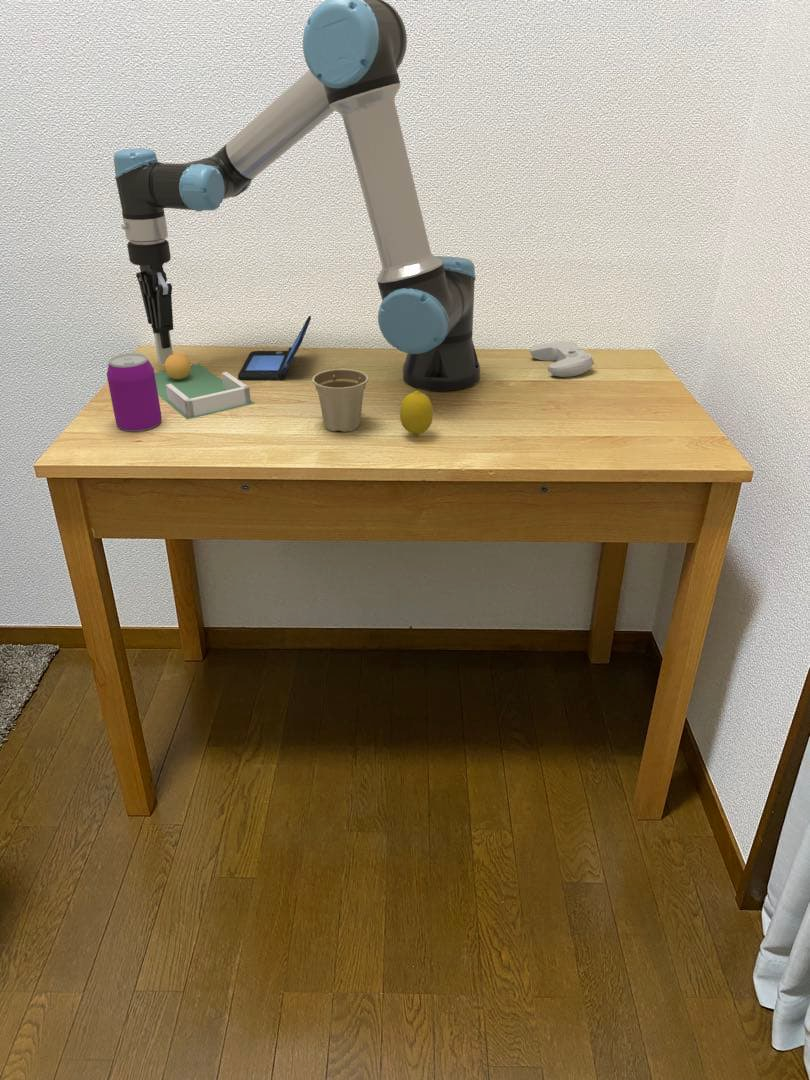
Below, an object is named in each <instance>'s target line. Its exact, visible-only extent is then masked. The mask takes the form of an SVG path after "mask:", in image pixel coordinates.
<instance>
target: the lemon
mask: <svg viewBox="0 0 810 1080" xmlns="http://www.w3.org/2000/svg"><path fill="white" fill-rule="evenodd" d="M399 417H400V418H399V419H400V423H401V426H402V427H403V428H404V429H405V431H406V432H408V433H409V434H412V435H414V437H418V436H419V435H420V434H423V433H425V432H426V431H428V429H429V428H430V427H431V425H432V423H433V420H434V407H433V404H432V402H431V399H430V398H429V397H428V396H427V395H426V394H425V393H422V392H420V391H419V390H414V391H413V392H411V393H409V394H408V395H406V396H405V397H404V398H403V399H402V401H401V404H400V409H399Z"/></svg>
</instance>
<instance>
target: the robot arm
mask: <svg viewBox="0 0 810 1080" xmlns="http://www.w3.org/2000/svg"><path fill="white" fill-rule="evenodd" d="M407 43H408V35H407V31H406V26H405V24H404V21H403V18H402V17H401V16H400V14H399V12H398V11H397V10H396V9H395V8H394V7H393V6H392V5H391V4H390V3H388V2H386V1H385V0H324V1H323V2H321V3H320V4H319V5H317V6H316V7H315V8H314V10H313V11H311V13H310V15H309V17H308V19H307V21H306V24H305V26H304V31H303V35H302V52H303V56H304V61H305V63H306V65H307V68H308V69H309V70H307V71H306V72H305V73H304V74H303V75H302V76H301V77H300V78H298V79H297V80H296V81H295V82H294V83H293V84H291V85H290V86H289V87H288V88H287V89H286V90H284V92H283V93H282V94H281V95H279V96H278V97H277V98H275V100H274V101H273V102H271V103H270V104H269V105H268V106H267V107H265V109H264V110H263V111H261V112H260V113H259V114H258V115H257V116H255V117H254V118H253V119H252V120H251V121H250V122H249V123H248V124H247V125H245V126H244V127H243V128H242V129H241V130H240V131H239V132H237V134H236V135H234V136H233V137H232V138H231V139H230V140H229V141H227V142H226V144H225V145H223V146H222V147H221V148H220V149H218V151H217V152H215V153H214V154H213V155H212V156H209V157H206V158H201V159H197V160H194V161H189V162H185V163H166V162H160V161H158V160H159V159H158V158H157V154H156V152H155V150H154V149H149V148H138V147H137V148H125V149H120V150H117V151H116V152H115V153H114V155H113V164H114V166H113V167H114V174H115V175H114V179H115V181H116V182H115V183H116V187H117V191H118V197H119V201H120V206H121V207H120V208H121V215H122V220H123V224H121V229H122V230H124V231H125V239H126V240H127V241H128V243H127V244H126V246H127V252H128V257H129V261H130V263H131V264H133V265H135V266H139V272H136V274H135V276H136V279H137V281H138V285H139V289H140V293H141V298H142V301H143V305H144V310H145V314H146V319H147V323H148V324H149V325H151V328H152V332H153V336H154V337H153V338H154V342H155V349H156V355H157V361H158V364H160V365H165V361H166V359H167V358H168V357H169V356H170V355H172V354H174V351H173V345H172V338H171V334H170V333H171V332H170V331H173V330H174V320H173V319H174V318H173V314H174V313H173V302H172V301H173V300H172V298H173V297H172V294H173V285H172V284H171V283H170V282H169V283H167V281H168V279H167V273H166V271H165V270H164V267H163V265H164V264H166V263H168V262H170V261H171V259H172V257H171V251H170V250H171V249H170V245H169V240H167V238H168V235H169V234H168V227H167V219H166V214H165V209H173V210H187V211H195V212H203V211H215V210H217V209H219V207H220V206H221V203H223V201H224V200H227V199H229V198H235V197H237V196H239V195H240V194H242V193H244V192H246V191H247V190H248V189H249V187H250V186H251V183H252V181H253V180H254V179H255V178H257V176H258V175H259V174H260V173H262V172H264V170H265V169H267V168H268V167H269V166H270V165H272V164H273V163H274V162H275V161H277V159H278V158H281V156H282V155H284V154H285V153H286V152H287V151H288V150H290V149H291V148H292V147H294V145H296V144H297V143H298V142H299V141H300V140H302V139H303V138H305V136H306V135H308V134H309V133H310V132H311V131H313V130H314V129H315V128H316V127H317V126H318V125H319V124H321V123H322V122H323V121H324V120H326V119H327V118H328V117H329V116H331V115H332V114H334V112H335V111H336V112H337V113H338V114H340V116H341V118H342V121H343V124H344V128H345V131H346V135H347V140H348V143H349V146H350V150H351V153H352V157H353V162H354V164H355V169H356V172H357V173H356V174H357V177H358V181H359V184H360V188H361V191H362V195H363V199H364V203H365V206H366V207H365V208H366V211H367V213H368V218H369V221H370V225H371V229H372V232H373V236H374V237H373V238H374V240H375V244H376V248H377V252H378V255H379V258H380V263H381V271H380V272H379V274H378V276H377V279H376V282H377V286H378V289H379V293H380V296H381V300H382V301H381V304H380V306H379V309H378V314H377V321H378V322H377V323H378V327H379V330H380V333H381V334H382V336H383V338H384V339H385V341H387V343H388V344H390V345H391V346H392V347H394V348H395V349H397V350H399V351H400V352H403V353H406V358H405V361H404V363H403V366H402V379H403V381H404V383H406V384H408V385H410V386H411V387H413V388H417V389H422V390H426V391H434V392H436V391H437V392H438V391H439V392H449V391H450V392H451V391H457V390H458V391H459V390H464V389H467V388H469V387H472V386H474V385H476V384H478V383H479V382H480V379H481V366H480V363H479V359H478V356H477V352H476V347H475V345H474V341H473V331H474V329H473V327H474V305H475V304H474V303H475V281H476V279H477V277H476V272H475V264H474V262H473V261H472V260H470V259H468V258H466V257H465V258H464V257H458V256H444V255H443V256H442V255H434V254H432V251H431V246H430V243H429V239H428V235H427V234H428V233H427V230H426V226H425V222H424V217H423V214H422V211H421V210H422V209H421V206H420V205H421V204H420V201H419V198H418V193H417V189H416V185H415V180H414V177H413V173H412V167H411V164H410V159H409V155H408V152H407V148H406V142H405V140H404V136H403V135H404V134H403V131H402V130H403V129H402V127H401V122H400V119H399V114H398V110H397V106H396V103H395V102H396V101H395V99H396V96H397V94H398V92H399V89H400V88H401V81H400V76H399V73H398V72H399V71H398V70H399V68H400V66H401V64H402V62H403V60H404V58H405V56H406V51H407V47H408V46H407Z"/></svg>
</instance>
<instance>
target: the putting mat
mask: <svg viewBox="0 0 810 1080" xmlns="http://www.w3.org/2000/svg"><path fill="white" fill-rule="evenodd" d="M154 373H155V379H156V385H157V391H158V397H160V398H161V399H163V400H164V402H166V403H167V404H168V405H170V407H172V408H173V409H174V410H175V411H176V412H178V413H179V414H180V415H181V416H183V417H184V418H185V419H186V420H191V419H196V418H200V417H203V416H208V415H209V416H210V415H212V414H216V413H221V412H225V411H230V410H234V409H239V408H241V407H246V406H251V405H255V402H254V401H252V400H251V403H249V404H245V405H241V406H236V407H232V408H228V409H224V410H219V411H215V412H211V413H207V414H203V415H198V416H194V417H190V418H189V417H187V416H186V415H185V414H184V413H183V412H181V411H180V410H179V409H178V408H177V407H175V406H174V405H173V404H172V403H171V402H170V401H168V397H167V390H166V385H167V384H172V385H173V386H174V387H176V388H177V389H178V390H179V391H181V392H182V393H183V394H184V395H186V396H187V397H188V398H189V399H191V398H195V397H200V396H204V395H209V394H213V393H218V392H222V391H226V389H224V388H223V381H222V379H221V378H220V377H218V376H217V375H216V374H214V373H213V372H211V371H210V370H209V369H207V368H205V366H202V364H199V363H197V364H191V371H190V373H189V375H188V376H187V377H186V378H184V379H180V380H177V379H173V378H171V377H170V376H169V375H168V374H167V373H166V371H165V370H163V371H158V372H154Z"/></svg>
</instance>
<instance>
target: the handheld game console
mask: <svg viewBox="0 0 810 1080" xmlns="http://www.w3.org/2000/svg"><path fill="white" fill-rule="evenodd" d="M311 319H312V316H311V315H309V316H308V317H307V319H306V320H305V322H304V324H303V326H302V327H301V329H300V331H299V333H298V336H297V337H296V339H295V341H294V342H293V344H292V346H290V347H288V350H252V351H251V352H249V354H248V356H247V358H246V360H245V361H244V363H243V365H242V367H241V368H240V370H239V372H238V374H237V379H238V380H239V381H246V382H247V381H249V382H250V381H252V382H253V381H254V382H255V381H256V382H258V381H260V382H262V381H265V382H268V381H271V382H277V381H278V382H279V381H280V382H283V381H285V379H286V375H287V373H288V370H289V368H290V367H291V365H292V363H293V360H294V358H295V356H296V354H297V351H298V350H299V348H300V347H301V345H302V343H303V340H304V338H305V336H306V333H307V330H308V328H309V325H310V323H311Z"/></svg>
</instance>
